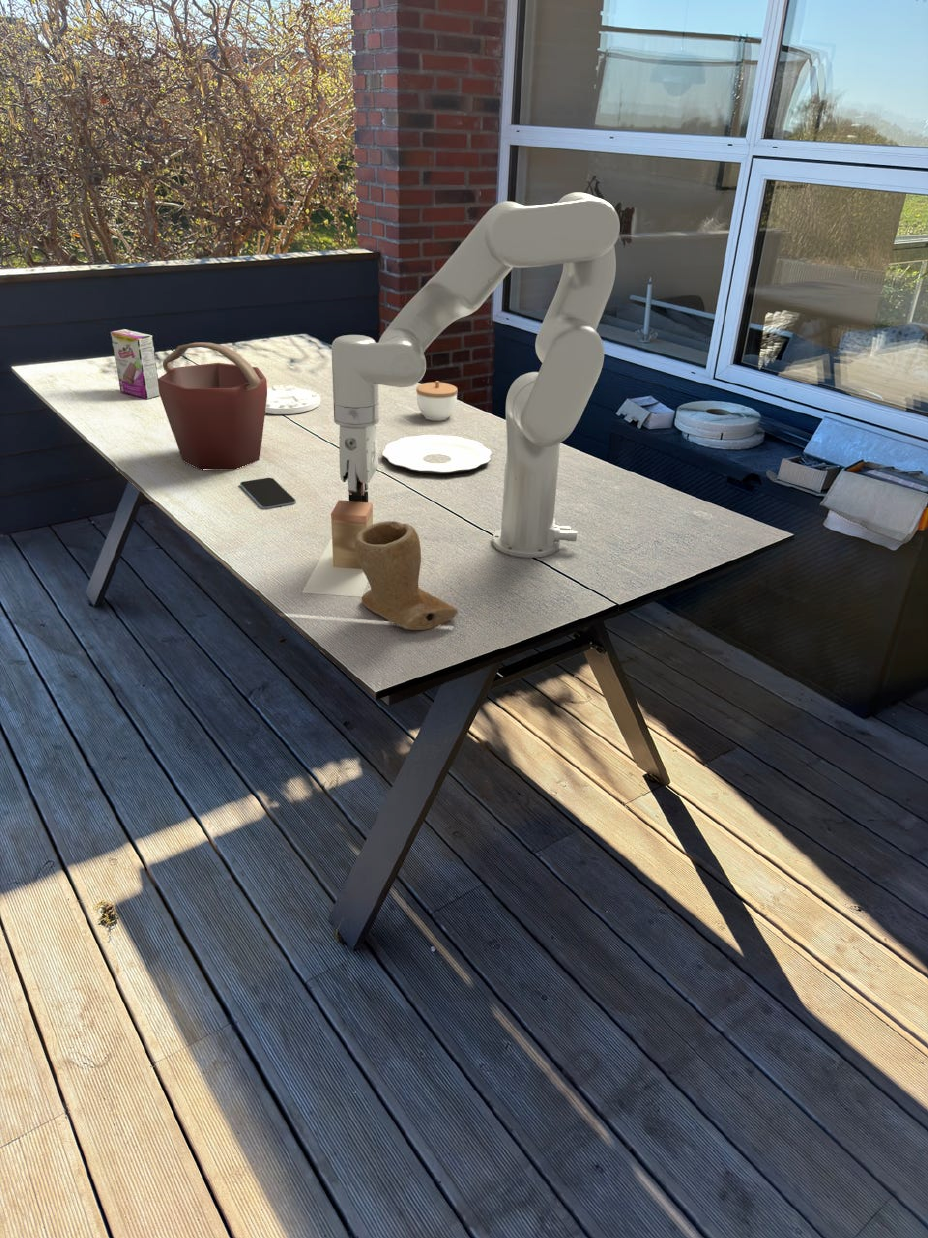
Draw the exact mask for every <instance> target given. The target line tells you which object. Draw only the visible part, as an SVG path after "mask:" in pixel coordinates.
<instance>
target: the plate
mask: <svg viewBox="0 0 928 1238" xmlns="http://www.w3.org/2000/svg"><path fill="white" fill-rule="evenodd" d="M381 454H382V457H384V458H385V459H386V460H388V462H389V464H391V465H393V466H396V467H400V468H404V469H407V470H409V471H411V472H412V471H413V472H418V473H423V474H431V475H432V474H433V475H435V474H437V475H441V474H442V475H443V474H455V473H461V472H462V473H463V472H469V471H471V470H475V469H477V468H479V467H480V466H483V465H486V464H488V463H489V462H490V461H491V455H492V454H493V452H492V450H491V449H489V448H488V447H486V446H485V445H483V443H481V442H479V441H477V440H473V439H468V438H464V437H460V436H457V435H456V436H455V435H439V434H424V435H417V436H406V437H401V438H400V439H398V440H395V441H391V442H389V443H388V444H386V445H385V447H384V449H383V450H382V452H381ZM429 455H444V456H447V457H449V458H450V461H447V462H444V463H433V462H428V461H425V460H424V457H426V456H429Z"/></svg>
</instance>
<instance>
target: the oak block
mask: <svg viewBox="0 0 928 1238" xmlns="http://www.w3.org/2000/svg"><path fill="white" fill-rule="evenodd" d="M373 504H374V503H373V502H369V501H368V502H356V501H349V500H338V501H337V502H336V504H335V506H334V507H333V509H332V511H331V513H330V518H331V519H330V520H331V538H332V548H333V567H341V568H355V569H362V568H361V566H360V564H359V561H358V559H357V556H356V552H355V539H356V536H357V534H358V533H359V532H360V531H361V530H362V529H364V528H366V527H368V526H370V525H373V524H374V513H373V512H374V511H373V510H374V506H373Z"/></svg>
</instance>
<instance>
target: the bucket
mask: <svg viewBox="0 0 928 1238" xmlns="http://www.w3.org/2000/svg"><path fill="white" fill-rule="evenodd" d="M189 348H190V349H191V348H202V349H209V350H212V351H215V352H217V353H219V354H220V355H222V356H224V357H225V358H226V359H228V360H229V361H231V362H232V363H233V364H232V363H225V362H224V363H223V362H211V363H205V364H195V365H187V366H177V367H174V366H173V365H172V364H171V363H172V362H173V361H175V360H178V359H179V358H180V357H182V356H183V355H184V354H185V353H186V351H187V350H188V349H189ZM162 368H163V370H164V371H165V372H166V373H164V374H162V376H160V377H158V379H157V380H158V388H159V394H160V396H159V397H160V399H161V402H162V405H163V409H164V411H165V413H166V416H167V420H168V422H169V425H170V426H169V427H170V429H171V431H172V434H173V437H174V440H175V443H176V446H177V448H178V449H177V450H178V451H179V455H180V457H181V460H183V461H185V462H187V463H189V464H191V465H193V466H192V467H194V466H195V467H194V468H196V467H197V468H196V469H198V468H199V469H198V470H200V469H202V470H201V471H204V470H203V469H237V468H239V469H241V468H243V467H242V466H244V467H246V466H248V465H247V464H249V465H251V464H253V463H252V462H254V463H255V461H256V462H258V461H260V458H261V451H262V450H261V448H262V441H263V431H264V426H265V425H264V423H265V415H266V413H265V408H266V400H267V388H268V385H267V378H266V376H265V375H264V374H263V372H262V371H261V369H260V368H259V367H257V366H256V367H255V366H252V365H251V364H250V363H249V362H248V361H247V360H246V359H245V358H244V357H242V355H240V354H238V353H237V352H236V351H235V350H232V349H231V348H229V347H228V346H225V345H221V344H218V343H213V342H205V341H204V342H193V343H187V344H186V343H185V344H182V345H178V346H177V347H176V348H175V349H174V350H173V351H172V352H171V353H170V355H168V356H166V358H165V359H164V360H163V361H162ZM183 461H182V462H183ZM185 462H184V463H185ZM187 463H186V464H187ZM250 463H251V464H250ZM189 464H188V465H189ZM191 465H190V466H191ZM245 465H246V466H245ZM240 467H241V468H240ZM237 470H238V469H237Z"/></svg>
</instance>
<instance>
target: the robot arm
mask: <svg viewBox="0 0 928 1238" xmlns="http://www.w3.org/2000/svg"><path fill="white" fill-rule="evenodd" d="M620 228H621V225H620V218H619V215H618V212H617V211H616V209H615V208H614V207H613V206H612V204H610V203H609V202H608V201H606V200H605V199H603V198H600V197H596V196H594V195H592V194H589V193H585V192H571V193H568V194H565V195H564V196H562V197H561V198H559V200H558V202H557V203H552V204H551V203H550V204H541V205H539V204H538V205H522V204H520V203H518V202H515V201H501V202H498V203H497V204H495V205H494V206H492V207H491V208H489V210H488V211H487V212H486V213H485V215H483V217H482V218H481V219H480V220H479V221H478V222H477V224H476V225H475V226H474V227H473V229H472V230H471V231H470V232H469V234H468V235H467V236H466V238H465V239H464V240H463V241H462V242H461V244H460V245H459V246H458V247H457V249H456V250H455V251H454V253H452V255H451V256H450V257H449V258H448V259H447V261H446V262H445V263H444V264H443V266H441V267H440V269H439V270H438V272H437V273H435V275H434V276H432V278H430V279H429V280H428V281H427V283H425V285H424V286H423V287H421V288H420V290H418V292H417V293H416V294H415V295H414V296H412V298H411V299H410V300H409V301H408V302H407V303H406V305H404V307H403V308H402V309H401V311H399V313H398V314H397V315H396V317H394V319H393V320H392V321H391V322H390V324H389V325H388V326H387V327H386V329H385V330H384V331H383V332H382V335H381V336H380V337H379V340H378V342H376V340H375V339H374V338H373V337H370V336H366V335H363V334H361V335H360V334H347V335H341V336H338V337H336V338H335V339H334V340H333V341H332V343H331V369H332V371H331V372H332V401H333V402H332V404H333V421H334V423H335V424H336V425H338V426H339V474H340V480H341V482H343V483H346V482H347V491H348V501H356V502H369V491H368V489H369V487H368V486H369V483H370V482H371V481H372V479H373V477H374V475H375V473H376V471H377V469H378V465H379V458H378V442H377V441H378V439H377V427H376V426H377V424H378V423H379V421H380V416H379V414H380V413H379V412H380V411H379V409H380V408H379V385H382V386H388V387H392V388H393V387H394V388H409V387H412V386H414V385H416V384H418V383H419V382H421V380H422V379H423V378H424V376H425V373H426V370H427V361H426V356H425V354H424V353H425V352H426V350H427V349H428V348H429V346H430V345H431V344H432V343H433V342H434V340H435V339H436V338H437V337H439V335H441V333H442V332H443V331H444V330H445V329H446V328H447V327H448V326H450V325H451V324H452V323H454V322H455V321H457V320H459V319H462V318H465V317H467V316H469V315H471V314H473V313H474V312H476V311H478V309H480V308H481V306H482V305H483V304H484V303H485V302H486V301H487V299H488V298H489V297H490V296H491V294H492V293H493V292H494V291H495V290H496V288H497V287H498V286H499V285H500V284H501V283H502V282H503V280H504V279H505V278H506V276H508V274H509V273H510V272H511V271H512V270H513V269H514V268H535V267H547V266H555V265H562V264H563V267H562V272H561V276H560V280H559V282H558V285H557V288H556V290H555V294H554V296H553V298H552V300H551V303H550V305H549V307H548V310H547V312H546V315H545V317H544V319H543V321H542V324H541V325H540V328H539V330H538V332H537V335H536V337H535V344H534V347H535V354H536V356H537V357H538V359H539V360H540V362H541V363H542V364H541V366H540V368H539V371H531V372H527V373H524V374H522V375H520V376H519V377H517V378H516V379H515V380H514V381H513V383H511V385H510V388H509V389H508V392H507V394H506V395H507V396H506V401H505V430H506V431H505V432H506V435H505V436H506V437H505V438H506V440H505V459H504V461H505V462H504V471H503V472H504V476H503V491H502V509H501V510H502V511H501V526H500V529H498V530H496V531H495V532H493V534H492V538H491V543H492V545H493V547H494V548H495V549H496V550H498V551H499V552H501V553H503V554H506V555H509V556H511V557H518V558H525V559H527V558H528V559H530V558H531V559H535V558H542V557H543V556H544V557H546V556H550V555H553V554H554V553H556V552H557V551H558V550H559V548H560V545H561V544H560V541H566V542H577V539H578V531H576V530H571V526H559V524H556V518H555V514H554V513H555V505H556V496H557V495H556V494H557V484H558V472H559V471H558V470H559V465H560V462H559V461H560V452H561V451H560V450H561V449H560V448H561V445H560V444H561V443H563V442H564V441H566V439H567V438H569V436H571V434H572V433H573V431H574V430H575V428H576V426H577V424H578V423H579V421H580V419H581V416H582V414H583V412H584V410H585V408H586V406H587V404H588V402H589V399H590V397H591V395H592V393H593V390H594V388H595V386H596V384H597V383H598V380H599V378H600V375H601V372H602V369H603V366H604V361H605V347H604V343H603V339H602V338H601V336H600V334H599V332H597V329H598V327H599V323H600V321H601V318H602V317H603V314H604V311H605V309H606V306H607V303H608V301H609V299H610V296H611V293H612V290H613V286H614V283H615V278H616V271H617V270H616V269H617V262H616V261H617V259H616V249H615V245H616V243H617V241H618V239H619V235H620ZM557 549H558V550H557ZM556 550H557V551H556ZM555 551H556V552H555ZM552 553H553V554H552Z"/></svg>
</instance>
